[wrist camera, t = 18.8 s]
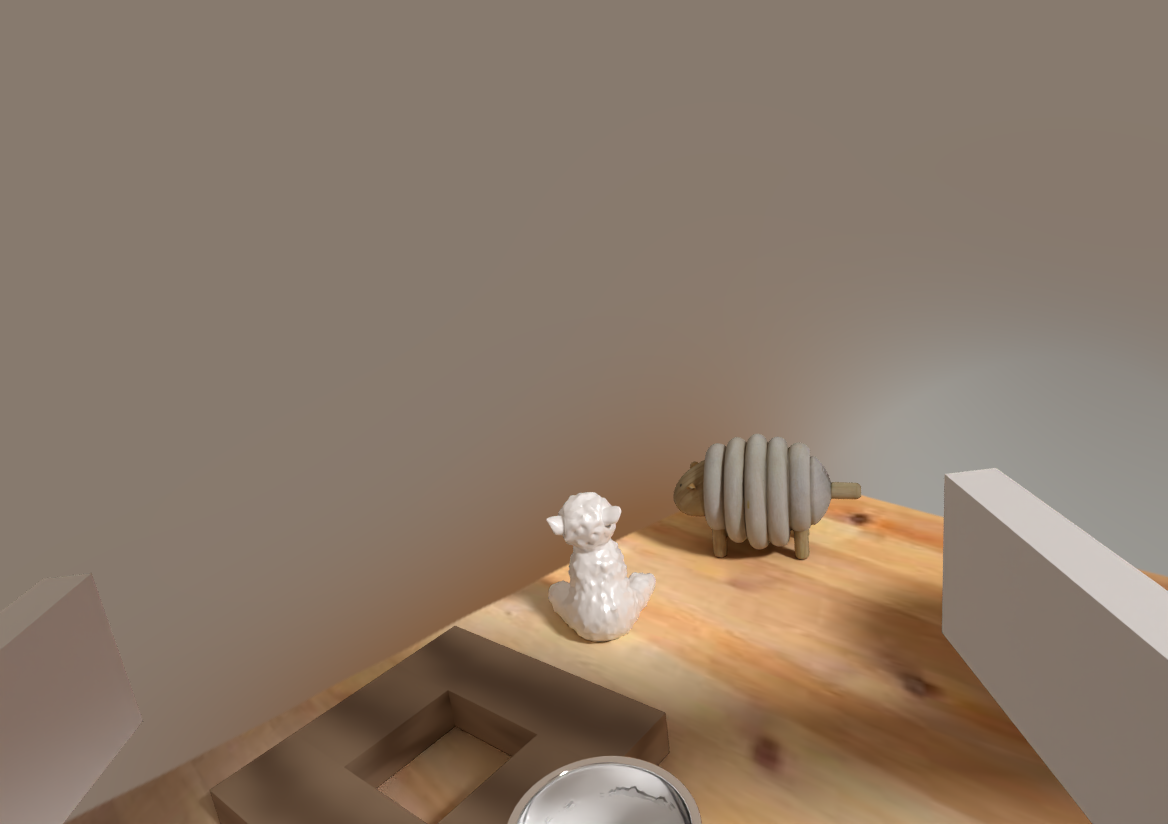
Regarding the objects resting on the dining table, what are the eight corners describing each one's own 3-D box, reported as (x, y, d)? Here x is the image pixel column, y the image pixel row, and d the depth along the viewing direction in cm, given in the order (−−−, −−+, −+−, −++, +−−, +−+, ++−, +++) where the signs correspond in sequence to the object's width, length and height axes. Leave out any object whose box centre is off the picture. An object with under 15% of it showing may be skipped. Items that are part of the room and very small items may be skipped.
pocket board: (461, 658, 63) (455, 625, 62) (669, 751, 50) (665, 712, 49) (222, 828, 49) (209, 789, 48) (429, 1020, 36) (417, 971, 35)
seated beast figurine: (656, 587, 70) (642, 462, 66) (668, 643, 61) (654, 504, 58) (550, 600, 70) (531, 476, 66) (549, 658, 62) (527, 519, 58)
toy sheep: (682, 523, 81) (673, 422, 78) (853, 520, 77) (851, 413, 74) (673, 576, 71) (662, 463, 68) (869, 575, 67) (867, 455, 64)
